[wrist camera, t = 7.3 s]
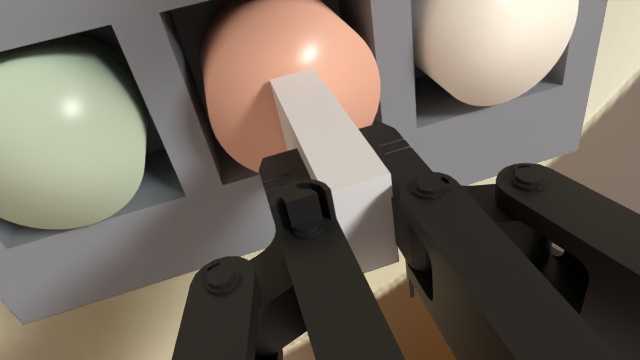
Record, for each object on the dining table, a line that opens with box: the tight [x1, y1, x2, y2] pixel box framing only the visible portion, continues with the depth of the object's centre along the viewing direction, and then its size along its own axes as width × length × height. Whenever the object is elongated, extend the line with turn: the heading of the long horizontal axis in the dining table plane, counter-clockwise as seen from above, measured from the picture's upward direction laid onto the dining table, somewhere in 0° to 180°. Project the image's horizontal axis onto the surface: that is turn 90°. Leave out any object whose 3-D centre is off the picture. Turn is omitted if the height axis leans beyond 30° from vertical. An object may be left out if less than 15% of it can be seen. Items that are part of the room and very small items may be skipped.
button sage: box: [0, 33, 149, 230], centre depth 17 cm, size 6×6×4 cm
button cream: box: [411, 0, 579, 106], centre depth 19 cm, size 6×6×4 cm
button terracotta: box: [200, 0, 381, 173], centre depth 18 cm, size 6×6×4 cm
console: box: [0, 0, 608, 325], centre depth 19 cm, size 15×27×5 cm, turn 100°
